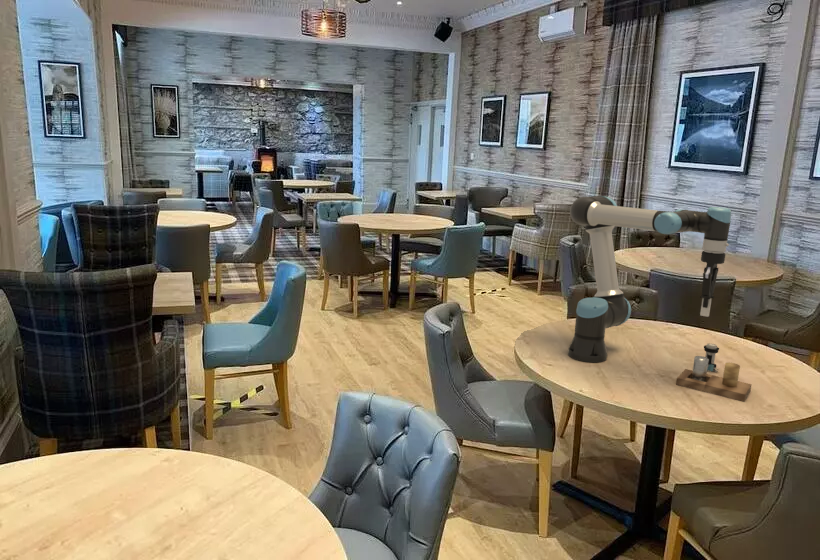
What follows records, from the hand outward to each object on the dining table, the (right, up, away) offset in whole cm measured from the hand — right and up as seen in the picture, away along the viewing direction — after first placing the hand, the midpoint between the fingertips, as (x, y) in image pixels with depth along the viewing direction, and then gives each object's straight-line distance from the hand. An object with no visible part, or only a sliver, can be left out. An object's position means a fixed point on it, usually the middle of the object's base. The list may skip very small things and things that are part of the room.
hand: (704, 315), depth 217 cm
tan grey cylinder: (-2, -25, 0) cm, 25 cm away
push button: (+9, -22, +15) cm, 28 cm away
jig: (+2, -26, -3) cm, 26 cm away
